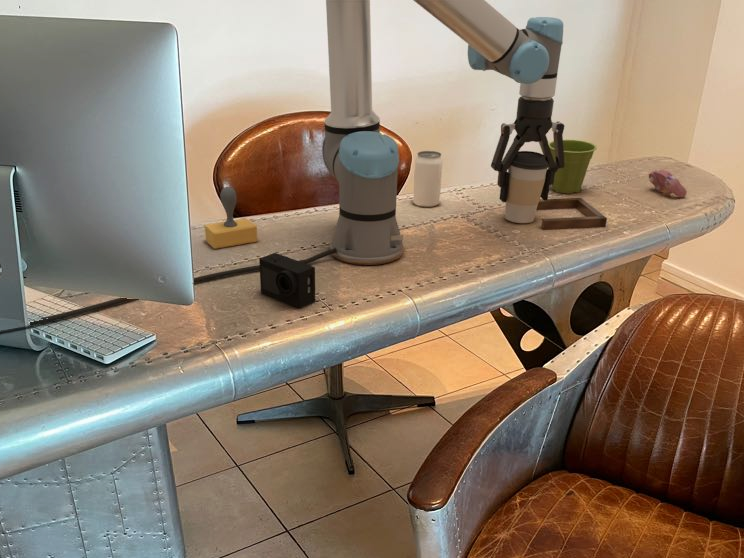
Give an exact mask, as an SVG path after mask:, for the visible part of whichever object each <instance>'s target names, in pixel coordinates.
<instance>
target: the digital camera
mask: <svg viewBox="0 0 744 558" xmlns="http://www.w3.org/2000/svg"><path fill="white" fill-rule="evenodd" d="M258 265H260V270H259V279H260V280H259V281H260V283H259V284H260V293H261V294H263V295H265V296H268V297H270V298H273V299H275V300H277V301H279V302H282V303H285V304H287V305H290V306H292V307H295V308H297V309H302V308H304V307H306V306H308V305H311V304H313V303H315V302H316V267H315V266H312V265H310V264H309V263H308V264H305V263H303V262H300V260H297V259H294V258H291V257H288V256H286V255H282V254H280V253H277V252H273V253H271V254H267V255H265V256H263V257H260V258H259V264H258Z"/></svg>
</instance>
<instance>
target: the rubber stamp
mask: <svg viewBox="0 0 744 558" xmlns="http://www.w3.org/2000/svg"><path fill="white" fill-rule="evenodd" d="M219 197H220V201H221V204H222V207H223V209H224V212H225V214H226V220H225V221H221V222H214V223H208V224H205V225H204V233H205V242H207V244H209V246H210V247H212V248H213V249H215V250H217V249H224V248H228V247H233V246H234V247H235V246H240V245H246V244H251V243H256V242H258V226H257V225H256V224H255V223H254V222H252V220H250V219H248V218H247V217H245V218H238V219H234V212H235V208H236V205H237V201H238V195H237V193H236V190H235V189H234V188H233V187H231V186H225V187H223V188H222V189H221V191H220V196H219Z"/></svg>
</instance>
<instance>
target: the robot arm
mask: <svg viewBox="0 0 744 558" xmlns="http://www.w3.org/2000/svg"><path fill="white" fill-rule="evenodd" d="M413 2H414V3H416V4H417V5H418V6H420V7H421V8H422V9H423V10H425V11H426V12H428V14H430V15H431V16H432V17H434V18H435V19H436V20H437V21H439V23H441V24H442V25H443V26H445V27H446V28H447V29H449V30H450V31H451V32H453V33H454V34H455V35H456V36H457V37H458V38H460V39H461V40H462V41H463V42H465V43H467V61H468V64H469V67H470V68H471V69H472V70H473V71H483V72H486V71H493V72H496V73H499V74H500V75H503V76H506V77H508V78H509V79H512V80H513V81H514V82H516V83H517V84H519V91H518V92H519V93H518V94H519V95H520V96H519V97H518V100H517V107H516V118H515V120H514V122H512V123H504V122H502V123H501V125H500V136H499V139H498V141H497V145H496V148H495V151H494V154H493V157H492V160H491V163H490V167H491V169H493V170H494V171H495V172H498V174H497V180H496V181H497V182H496V183H497V186H498V187H499V188H500V189H499V200H500V201H501V202H502V203H506V200H507V192H508V183H509V175H510V174H509V173H508V168H509V167H510V165H511V163H512V162H513V160H514V158H515V157H516V155H517V153H518V152H519V151H521V148H522V147H523V146H524V145H525V143H531V142H535V143H538V144H539V147H540V149H541V152H542V154H543V155H544V156H545V159H546V160H547V161H548V166H549V167H548V168H547V171H546V175H545V177H546V178H545V182H544V186H543V189H542V193H541V197H540V199H543V200H544V201H547V200H548V199H549V194H550V193H549V192H550V186H552V185H553V183H554V177H555V172H557V171H558V169H559V168H563V167H564V166H565V163H564V149H563V140H564V138H563V137H564V136H563V135H564V130H565V124H564V123H562V122H560V121H555V122H554V121H552V117H553V112H554V111H553V110H554V103H555V100H554V98H553V97H555V96H556V90H557V89H556V88H557V80H558V72H559V66H560V59H561V58H560V57H561V53H562V46H563V43H564V41H563V38H564V22H563V20H561V19H560V18H559V17H558V18H557V17H549V16H536V17H530V18H529V19H528V20H527V23H526V25H525V28H522V29H519V28H517V26H516V25H515V24H514V23H512V22H511V21H510V20H509V19H508V18H507V17H505V16H504V14H502V13H500V12H499V11H498V10H497V9H496V8H495V7H493V6H492V5H491V4H490V3H488V2H487V1H486V0H413ZM325 9H326V29H327V30H326V32H327V50H328V51H327V53H328V73H329V93H330V94H329V96H330V113H329V114H328V116H326V118H325V119H324V120H323V121H324V122H323V123H324V138H323V140H322V145H321V146H322V147H321V154H322V161H323V164H324V166H325V167H326V169H327V170H328V172H329V173H330V174H331V175H332V176H333V178H334V179H335V180H336V182H337V183H338V187H339V189H338V191H339V193H338V195H339V196H338V198H339V200H338V201H339V202H338V204H339V205H338V206H339V207H338V219H337V221H336V224H335V227H334V231H333V233H332V237H331V240H330V244H329V245H330V246H329V249H328V250H325V251H323V252H320V253H318V254H317V253H316V255H313V256H310V257H308V258H305V259H300V260H299V261H300V262H303V263H305V264H308V265H309V264H311V263H313V262H316V261H319V260H320V259H322V258H325V257H328V256H330V255H331V256H332V257H333V258H335V259H336V260H338V261H340V262H343V263H347V264H352V265H359V266H377V265H384V264H388V263H392V262H395V261H397V260H399V259H400V258H401V257H402V256H403V253H404V243H403V240H404V234H401V232H400V228H399V224H398V221H397V216H396V215H397V197H398V195H397V194H398V177H399V176H398V174H399V164H400V155H399V146H398V143H397V142H396V140H395V139H394V138H393V137H391V136H389V135H387V134H382V133H381V125H380V124H381V121H380V116H379V115H377V114H376V112H375V111H374V110H373V87H372V86H373V84H372V83H373V81H372V80H373V79H372V76H373V75H372V37H371V36H372V35H371V33H372V31H371V29H372V28H371V27H372V26H371V0H325ZM513 131H515V132H516V134H515V136H514V138H513V142H512V143H511V145H510V147H509V148H508V150H507V147H508V144H509V141H510V137H511V136H510V135H512V133H513ZM550 131H552V135H553V136H552V138H553V141H554V150H555V162H554V159H553V156H552V153H551V150H550V147H549V145H548V144H549V140H548V137H547V134H548V133H549V132H550ZM506 150H507V152H506ZM505 153H506V154H505ZM254 271H260V265H259V264H257V265H251V266H245V267H240V268H235V269H234V268H233V269H229V270H224V271H219V272H214V273H210V274H205V275H200V276H196V277H193V278H194V283H193V284H196V283H201V282H205V281H210V280H213V279H218V278H225V277H227V276H234V275H239V274H244V273H249V272H254ZM130 301H134V299H127V298H121V297H118V298H113V299H110V300H107V301H103V302H100V303H96V304H92V305H88V306H85V307H81V308H77V309H73V310H69V311H64V312H61V313H56V314H52V315H48V316H44V317H40V318H41V319H43V320H39V321H34V322H30V325H31V326H30V327H33V326H37V325H41V324H47V323H50V322H54V321H58V320H62V319H67V318H70V317H75V316H79V315H83V314H87V313H90V312H94V311H97V310H100V309H101V310H102V309H105V308H108V307H112V306H115V305H118V304H123V303H126V302H130ZM46 318H48V319H46Z"/></svg>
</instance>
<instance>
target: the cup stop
mask: <svg viewBox="0 0 744 558" xmlns="http://www.w3.org/2000/svg"><path fill="white" fill-rule="evenodd" d="M558 209H559V210H560V209H576V210H578V211H579V212H580V213H582V214H583V215H584V216H577V217H575V216H574V217H556V218H555V217H553V218H552V217H551V218H542V219H541V225H540V226H541V227H540V228H541V229H542V230H558V229H559V230H561V229H563V230H564V229H583V228H584V229H585V228H602V227H603V228H605V227H606V226H607V221H608V217H607V216H605V215H604V214H602V213H601V212H600V211H599V210H597V209H596V208H595V207H594V206H592V205H591V204H590V203H589V202H587V201H586V200H585V199H583V198H582V197H567V198H566V197H565V198H548V200H547V201H544V200H543V199H542V198H540V200H539V203H538V206H537V209H536V211H537V210H538V211H539V210H558Z"/></svg>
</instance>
